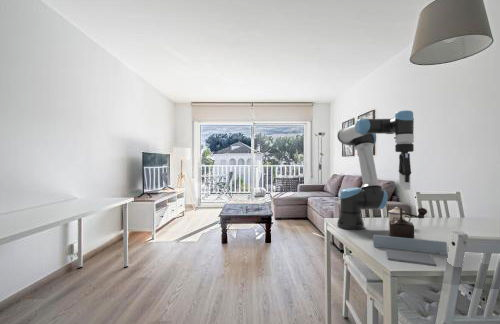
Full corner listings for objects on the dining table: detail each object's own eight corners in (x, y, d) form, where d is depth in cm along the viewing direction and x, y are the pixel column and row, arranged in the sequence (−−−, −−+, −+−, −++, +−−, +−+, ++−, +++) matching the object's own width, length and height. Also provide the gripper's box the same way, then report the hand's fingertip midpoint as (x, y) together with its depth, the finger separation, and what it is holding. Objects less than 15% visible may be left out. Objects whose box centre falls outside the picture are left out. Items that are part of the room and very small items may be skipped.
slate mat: (386, 250, 117) (386, 249, 117) (429, 255, 110) (429, 254, 110) (388, 259, 106) (388, 258, 106) (436, 265, 99) (436, 264, 99)
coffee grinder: (389, 244, 126) (389, 206, 126) (388, 238, 136) (388, 203, 136) (428, 248, 119) (428, 208, 119) (424, 242, 129) (424, 205, 129)
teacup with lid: (390, 228, 157) (389, 208, 157) (386, 224, 165) (386, 205, 165) (413, 229, 153) (412, 209, 153) (408, 225, 162) (408, 206, 162)
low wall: (373, 244, 125) (373, 234, 125) (445, 252, 114) (445, 240, 114) (373, 247, 122) (373, 236, 122) (447, 255, 110) (447, 243, 110)
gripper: (392, 145, 139) (392, 185, 139) (398, 142, 116) (398, 190, 116) (409, 144, 136) (409, 186, 136) (418, 141, 113) (418, 191, 113)
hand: (404, 188), depth 126 cm, fingers open, 13 cm apart
